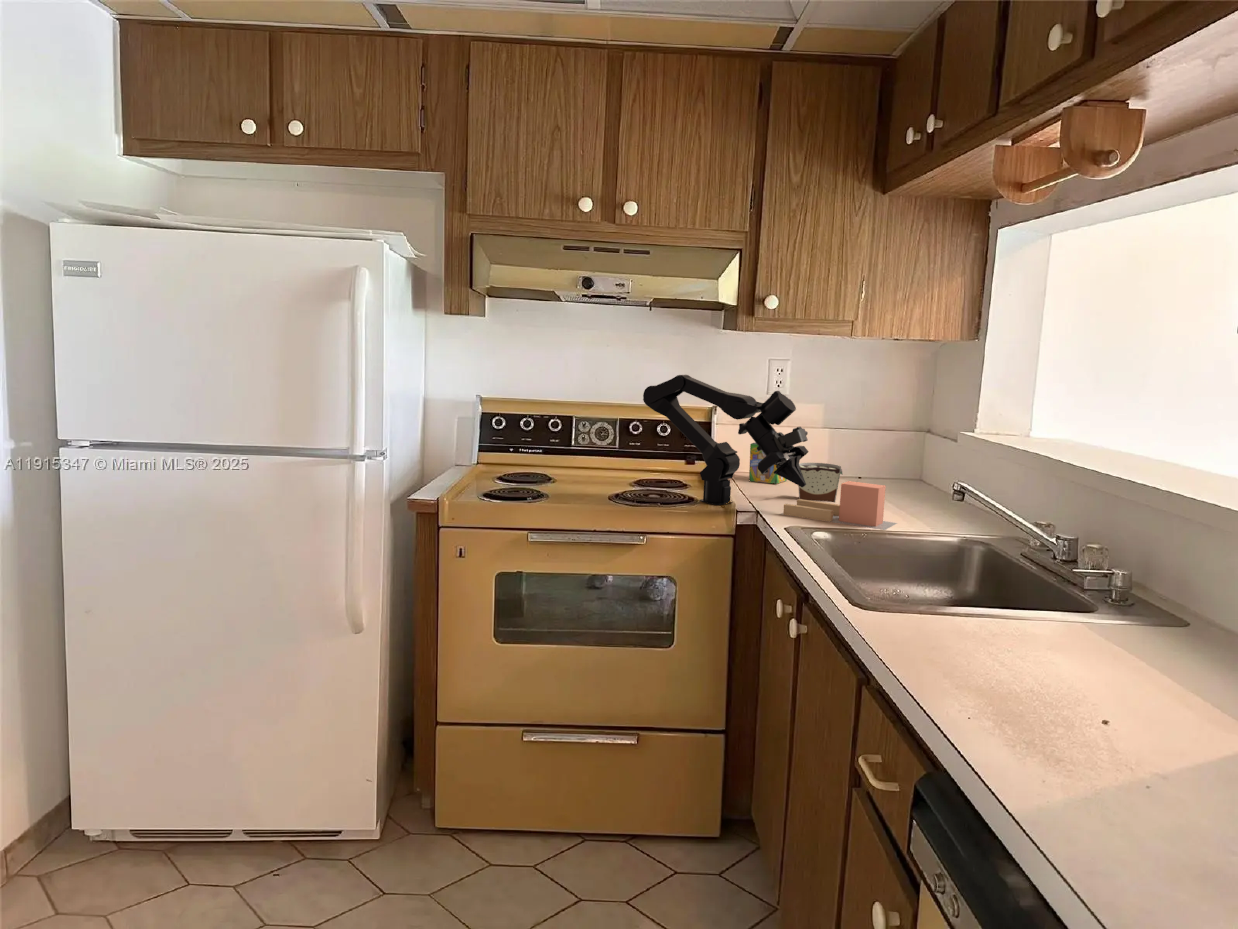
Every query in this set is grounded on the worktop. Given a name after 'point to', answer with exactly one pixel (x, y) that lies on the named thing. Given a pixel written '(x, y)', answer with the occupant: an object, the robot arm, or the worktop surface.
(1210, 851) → the worktop surface
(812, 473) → the food container
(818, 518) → the chute
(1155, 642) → the worktop surface
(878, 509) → the block
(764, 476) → the chalk box
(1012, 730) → the worktop surface
